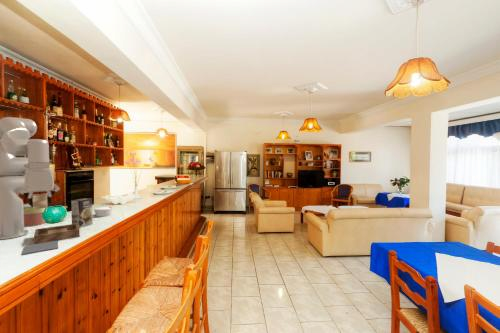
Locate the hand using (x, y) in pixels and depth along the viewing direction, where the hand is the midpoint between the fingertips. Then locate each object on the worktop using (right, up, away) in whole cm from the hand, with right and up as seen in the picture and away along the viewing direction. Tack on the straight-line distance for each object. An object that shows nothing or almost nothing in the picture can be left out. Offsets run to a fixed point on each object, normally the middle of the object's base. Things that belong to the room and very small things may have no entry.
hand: (40, 205), depth 114 cm
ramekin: (-8, -17, +63) cm, 66 cm away
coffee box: (-6, -18, +37) cm, 42 cm away
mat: (0, -20, +1) cm, 20 cm away
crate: (-5, -19, +16) cm, 25 cm away
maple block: (0, -1, 0) cm, 1 cm away
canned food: (-37, -18, +40) cm, 58 cm away
